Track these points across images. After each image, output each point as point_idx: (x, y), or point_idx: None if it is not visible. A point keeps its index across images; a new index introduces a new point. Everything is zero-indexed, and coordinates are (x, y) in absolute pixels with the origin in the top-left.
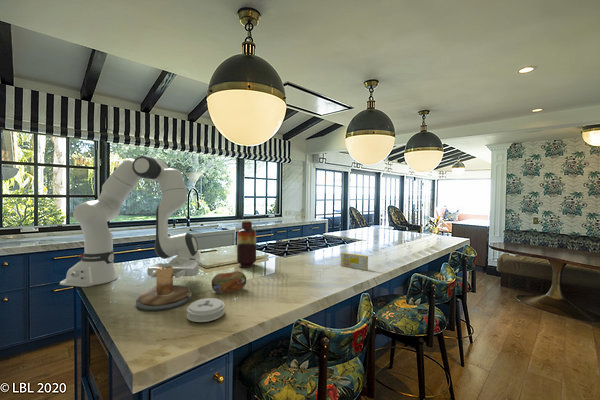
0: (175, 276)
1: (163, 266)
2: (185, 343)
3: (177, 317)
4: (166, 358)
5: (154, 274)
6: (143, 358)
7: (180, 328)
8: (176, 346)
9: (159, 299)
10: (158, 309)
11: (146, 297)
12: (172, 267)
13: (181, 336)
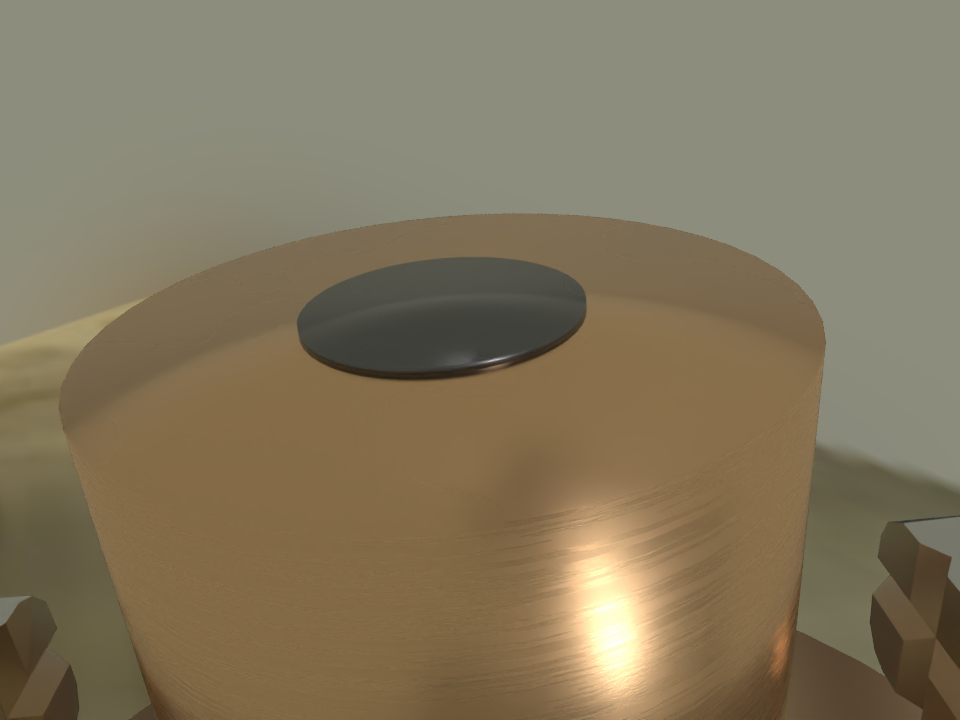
0: (45, 671)
1: (712, 437)
2: (23, 368)
3: (101, 570)
4: (119, 309)
5: (905, 541)
6: None
7: (59, 453)
8: (76, 351)
9: None
10: None
11: None
12: (79, 399)
13: (49, 400)
